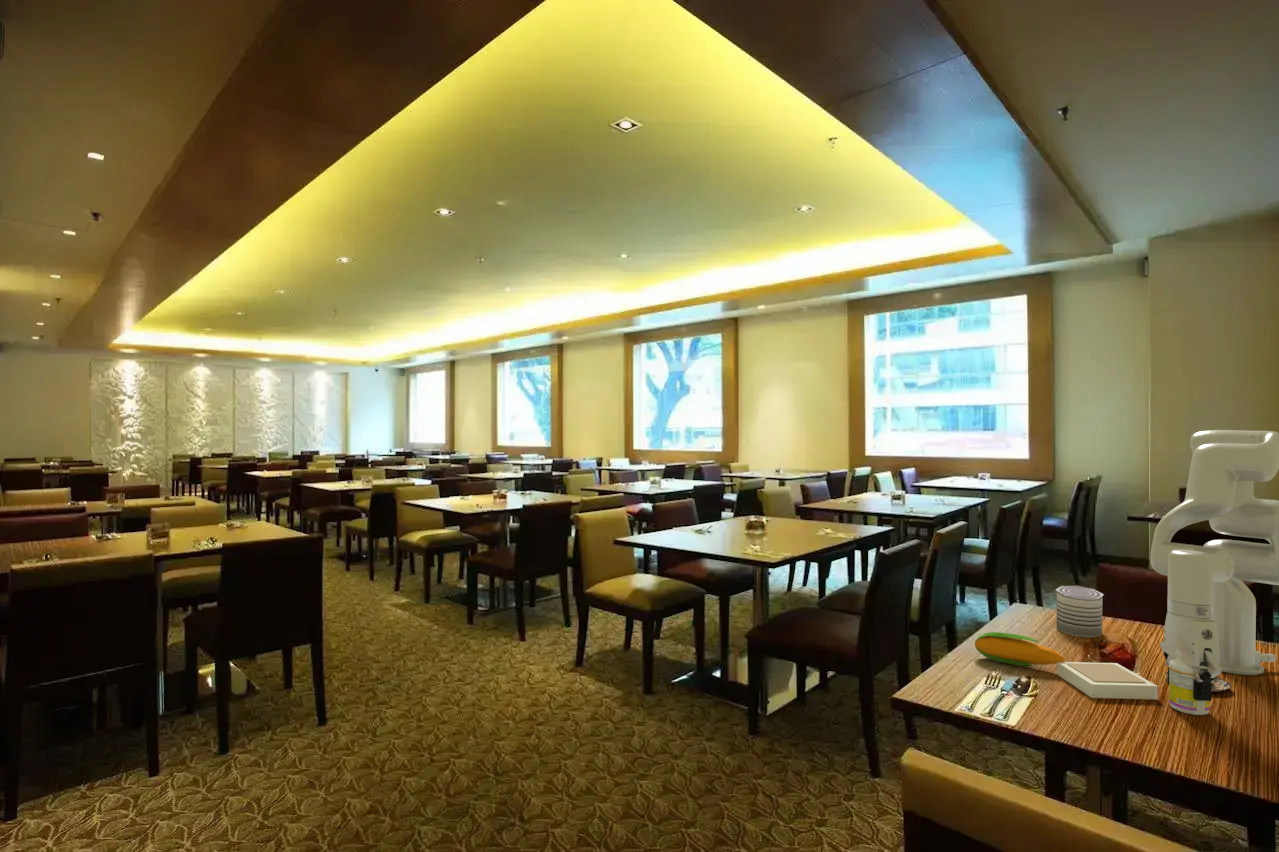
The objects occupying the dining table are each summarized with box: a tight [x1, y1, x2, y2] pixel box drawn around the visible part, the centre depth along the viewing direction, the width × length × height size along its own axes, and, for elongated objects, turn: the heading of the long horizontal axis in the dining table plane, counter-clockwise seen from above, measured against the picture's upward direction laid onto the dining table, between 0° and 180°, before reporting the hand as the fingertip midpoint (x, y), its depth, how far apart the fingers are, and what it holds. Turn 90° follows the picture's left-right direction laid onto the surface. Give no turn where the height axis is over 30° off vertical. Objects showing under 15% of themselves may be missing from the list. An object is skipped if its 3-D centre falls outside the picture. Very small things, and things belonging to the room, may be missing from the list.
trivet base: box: [1056, 661, 1159, 700], centre depth 157 cm, size 14×14×3 cm
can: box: [1055, 585, 1105, 638], centre depth 198 cm, size 11×11×12 cm
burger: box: [1164, 671, 1233, 692], centre depth 158 cm, size 12×12×8 cm
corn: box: [974, 631, 1066, 668], centre depth 171 cm, size 7×8×20 cm
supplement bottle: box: [1168, 649, 1210, 716], centre depth 144 cm, size 7×7×13 cm
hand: (1188, 692), depth 144 cm, fingers closed on supplement bottle, 6 cm apart
